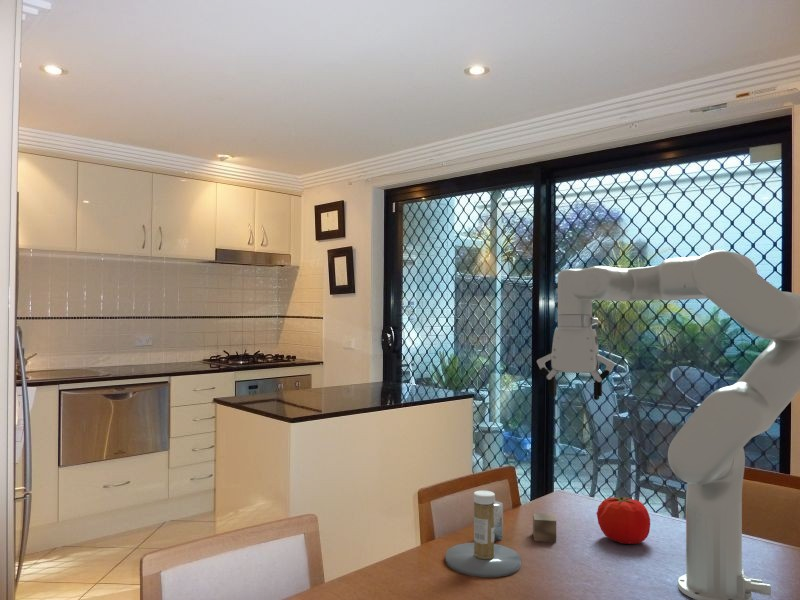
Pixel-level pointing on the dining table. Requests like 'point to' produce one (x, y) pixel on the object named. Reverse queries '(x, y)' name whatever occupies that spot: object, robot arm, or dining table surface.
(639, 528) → the tomato
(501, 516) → the metal tin
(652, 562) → the dining table surface
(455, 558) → the grey plate
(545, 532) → the walnut block
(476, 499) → the sprinkles bottle
